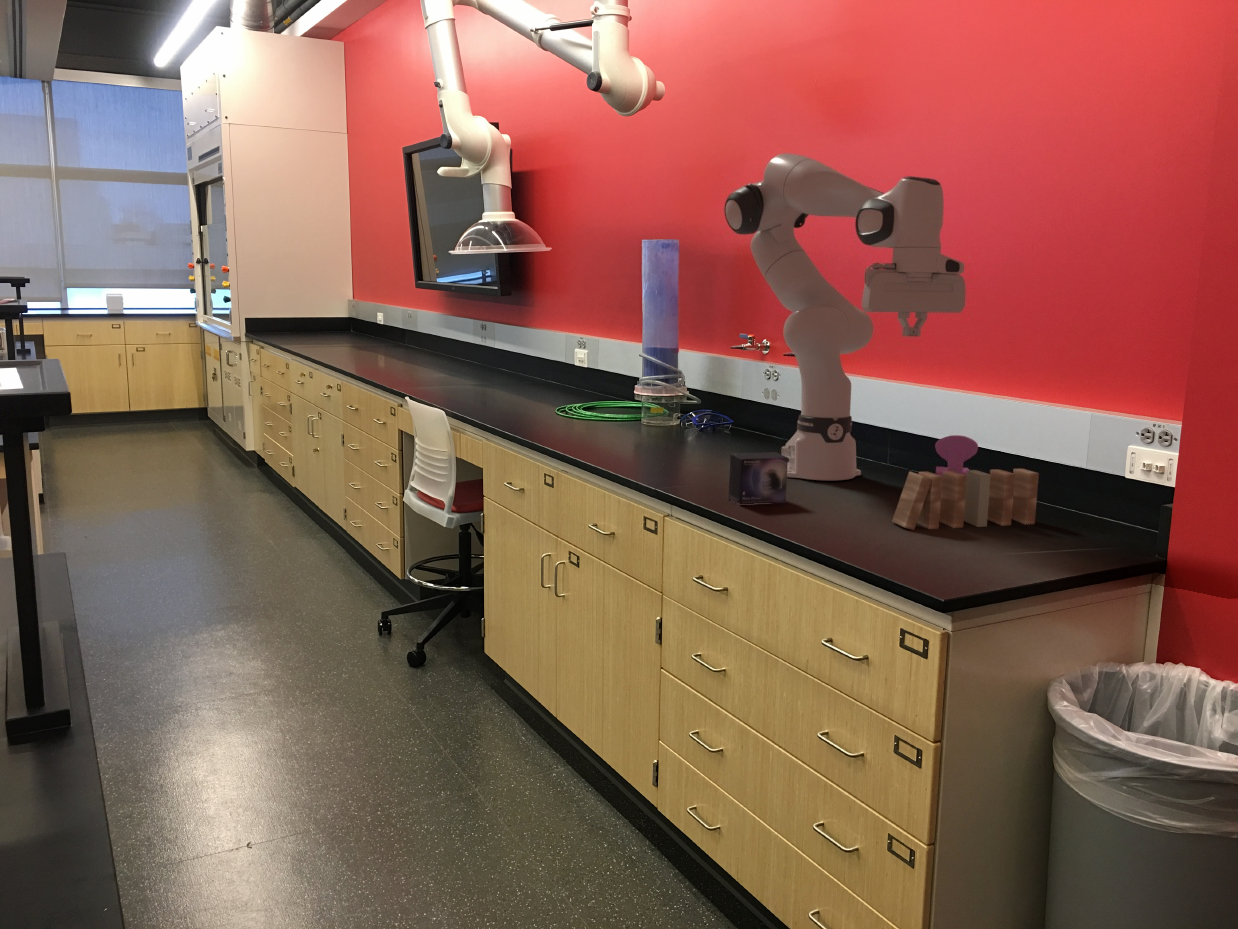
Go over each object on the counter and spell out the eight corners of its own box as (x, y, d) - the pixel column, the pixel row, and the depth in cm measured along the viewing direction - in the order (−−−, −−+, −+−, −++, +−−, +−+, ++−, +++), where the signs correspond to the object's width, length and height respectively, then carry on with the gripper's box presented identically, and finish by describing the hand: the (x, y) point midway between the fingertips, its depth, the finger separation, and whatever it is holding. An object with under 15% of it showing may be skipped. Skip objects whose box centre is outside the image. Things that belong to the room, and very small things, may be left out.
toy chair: (969, 502, 208) (974, 431, 206) (975, 510, 200) (980, 437, 197) (928, 500, 210) (933, 430, 207) (932, 508, 201) (937, 435, 199)
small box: (739, 509, 199) (741, 458, 197) (727, 503, 205) (728, 453, 203) (787, 506, 202) (789, 456, 200) (773, 500, 208) (775, 451, 206)
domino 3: (953, 528, 184) (956, 475, 182) (939, 522, 189) (942, 471, 187) (963, 528, 185) (966, 475, 183) (948, 522, 189) (952, 470, 188)
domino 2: (928, 529, 183) (932, 476, 181) (915, 523, 188) (918, 471, 186) (938, 529, 184) (942, 476, 182) (925, 523, 188) (928, 471, 187)
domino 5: (1001, 526, 186) (1005, 474, 185) (986, 520, 191) (990, 469, 189) (1010, 525, 187) (1015, 473, 185) (995, 520, 191) (999, 469, 190)
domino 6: (1025, 525, 187) (1029, 473, 186) (1009, 519, 192) (1013, 468, 190) (1034, 524, 188) (1038, 473, 186) (1018, 519, 192) (1022, 468, 191)
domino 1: (904, 527, 182) (922, 476, 181) (891, 521, 187) (909, 471, 186) (914, 530, 182) (932, 479, 181) (900, 524, 187) (918, 474, 186)
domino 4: (977, 527, 185) (980, 475, 184) (962, 521, 190) (966, 470, 188) (986, 527, 186) (990, 474, 184) (972, 521, 190) (975, 470, 189)
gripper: (873, 262, 184) (868, 337, 186) (972, 264, 188) (967, 337, 190) (858, 263, 190) (854, 335, 192) (954, 265, 194) (949, 335, 197)
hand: (911, 336), depth 191 cm, fingers closed
